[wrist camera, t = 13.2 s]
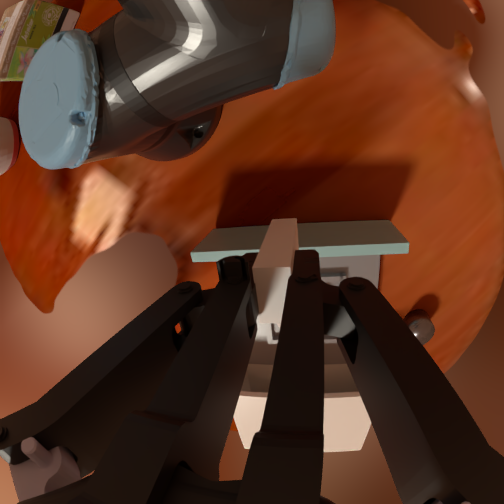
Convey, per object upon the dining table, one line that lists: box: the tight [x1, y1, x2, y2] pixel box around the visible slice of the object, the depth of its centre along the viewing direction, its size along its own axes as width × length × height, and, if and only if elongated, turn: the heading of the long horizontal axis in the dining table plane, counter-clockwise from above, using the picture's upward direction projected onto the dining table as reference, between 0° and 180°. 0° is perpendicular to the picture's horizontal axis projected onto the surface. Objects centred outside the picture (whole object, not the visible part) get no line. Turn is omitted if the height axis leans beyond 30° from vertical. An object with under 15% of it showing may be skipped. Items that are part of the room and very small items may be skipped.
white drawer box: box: [233, 364, 371, 452], centre depth 45 cm, size 20×24×10 cm
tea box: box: [0, 0, 80, 81], centre depth 24 cm, size 15×10×15 cm, turn 162°
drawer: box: [191, 220, 409, 365], centre depth 37 cm, size 24×24×9 cm
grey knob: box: [403, 309, 435, 345], centre depth 38 cm, size 5×5×4 cm
